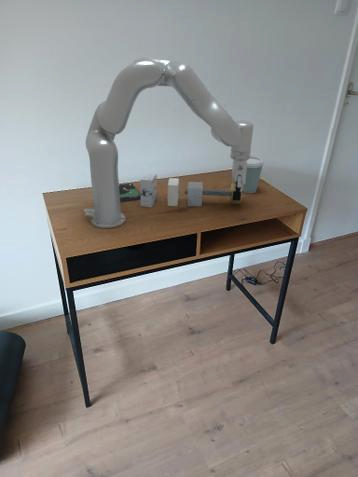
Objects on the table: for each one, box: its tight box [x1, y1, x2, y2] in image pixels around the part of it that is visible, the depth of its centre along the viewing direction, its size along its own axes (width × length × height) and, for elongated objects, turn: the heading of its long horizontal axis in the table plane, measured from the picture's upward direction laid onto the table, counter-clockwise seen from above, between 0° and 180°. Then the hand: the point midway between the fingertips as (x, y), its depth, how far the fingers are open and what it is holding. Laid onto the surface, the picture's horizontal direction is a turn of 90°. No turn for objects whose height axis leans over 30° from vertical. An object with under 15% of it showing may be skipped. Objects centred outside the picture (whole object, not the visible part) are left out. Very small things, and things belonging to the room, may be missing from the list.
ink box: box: [139, 172, 158, 208], centre depth 150 cm, size 9×5×12 cm, turn 168°
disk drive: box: [119, 183, 141, 203], centre depth 159 cm, size 10×3×15 cm
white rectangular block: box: [167, 177, 180, 207], centre depth 152 cm, size 4×8×9 cm, turn 176°
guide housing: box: [186, 181, 204, 208], centre depth 152 cm, size 6×7×8 cm
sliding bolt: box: [184, 181, 243, 204], centre depth 150 cm, size 23×5×8 cm, turn 86°
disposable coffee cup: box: [242, 155, 264, 194], centre depth 163 cm, size 11×11×15 cm
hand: (235, 196), depth 151 cm, fingers open, 5 cm apart
